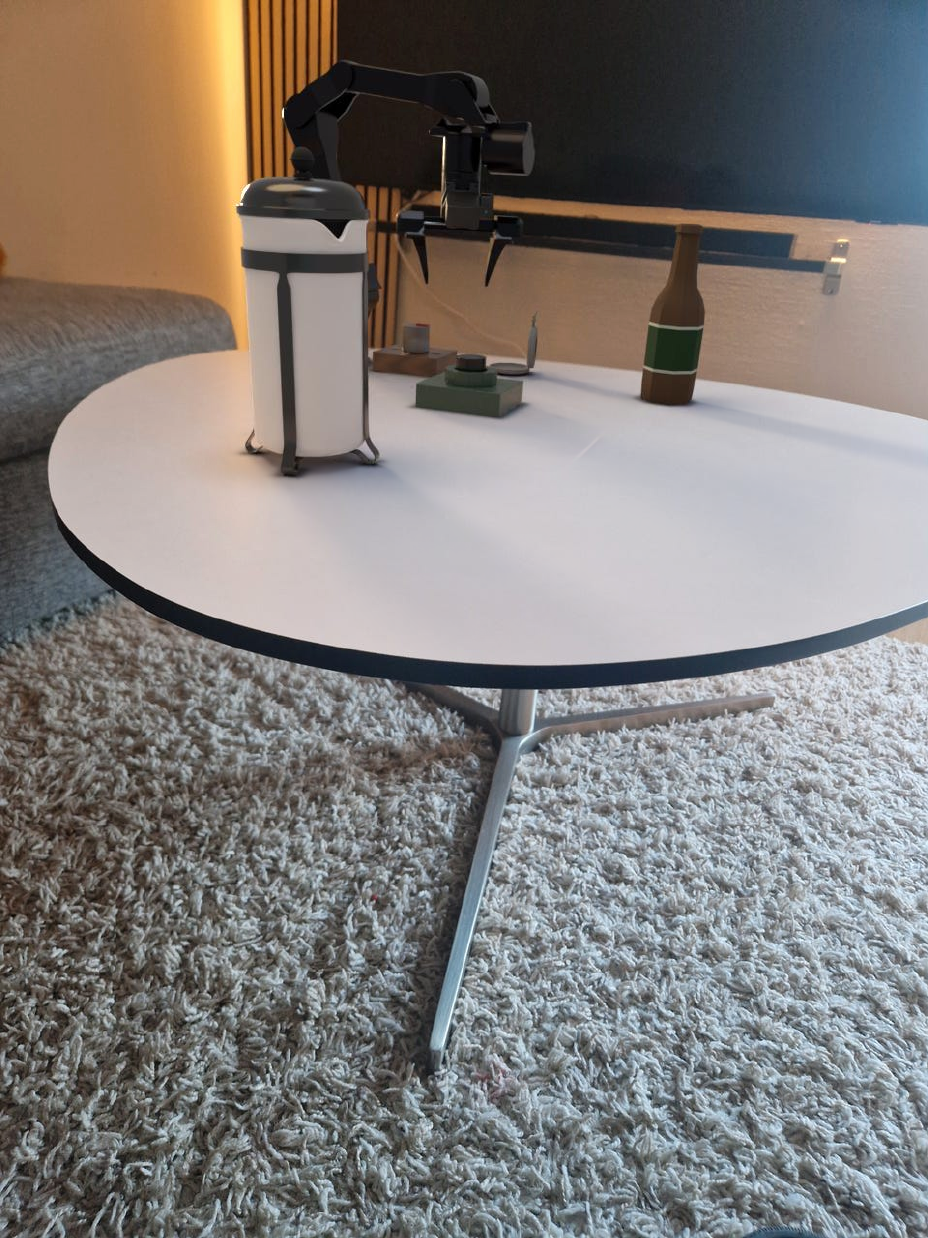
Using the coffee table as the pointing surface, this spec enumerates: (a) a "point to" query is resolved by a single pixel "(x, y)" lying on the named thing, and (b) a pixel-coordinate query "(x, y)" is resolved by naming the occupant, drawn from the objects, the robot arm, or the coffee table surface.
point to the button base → (469, 392)
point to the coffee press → (307, 314)
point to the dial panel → (413, 361)
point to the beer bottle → (675, 327)
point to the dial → (416, 338)
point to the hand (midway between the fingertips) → (456, 285)
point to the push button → (471, 363)
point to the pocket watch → (531, 355)
